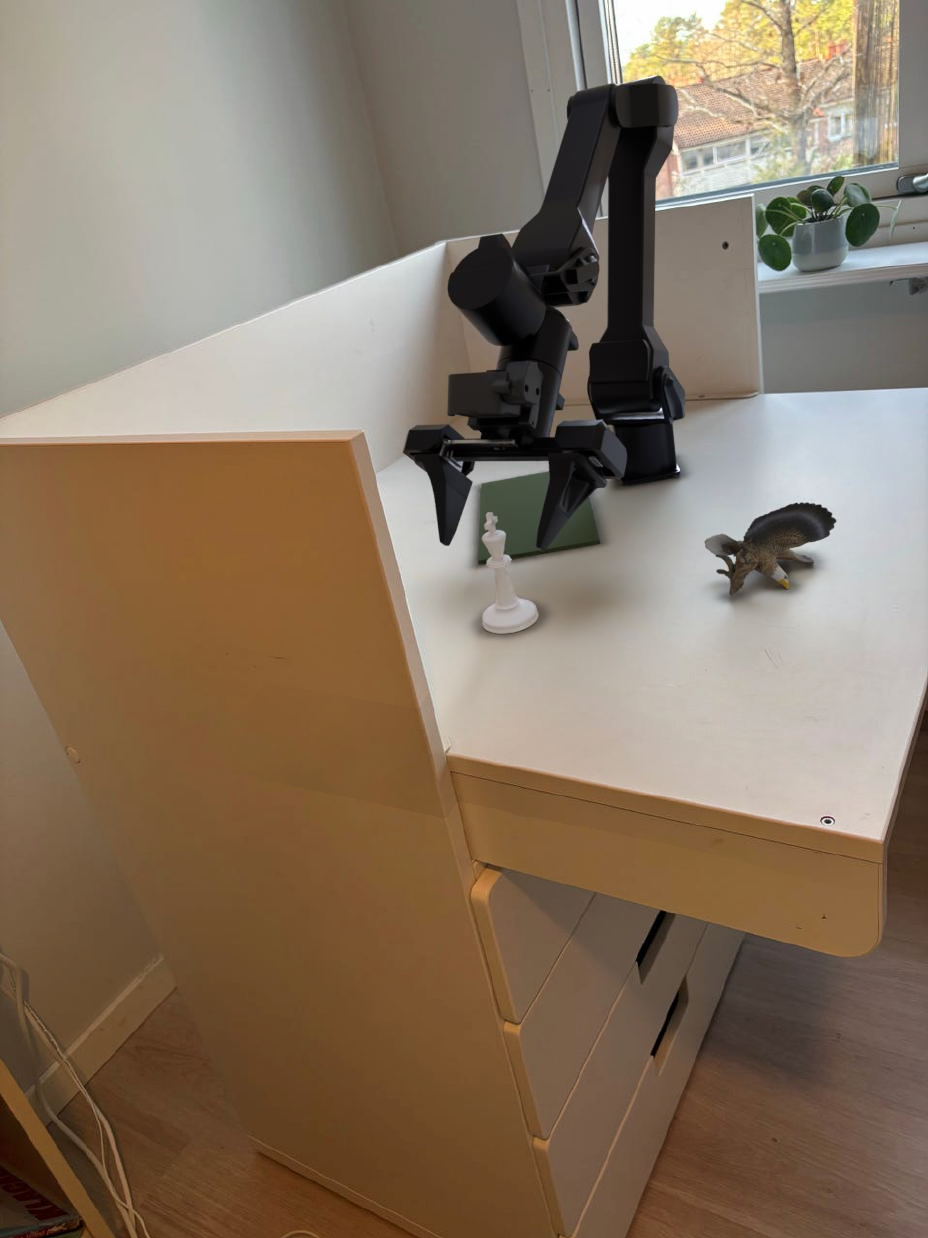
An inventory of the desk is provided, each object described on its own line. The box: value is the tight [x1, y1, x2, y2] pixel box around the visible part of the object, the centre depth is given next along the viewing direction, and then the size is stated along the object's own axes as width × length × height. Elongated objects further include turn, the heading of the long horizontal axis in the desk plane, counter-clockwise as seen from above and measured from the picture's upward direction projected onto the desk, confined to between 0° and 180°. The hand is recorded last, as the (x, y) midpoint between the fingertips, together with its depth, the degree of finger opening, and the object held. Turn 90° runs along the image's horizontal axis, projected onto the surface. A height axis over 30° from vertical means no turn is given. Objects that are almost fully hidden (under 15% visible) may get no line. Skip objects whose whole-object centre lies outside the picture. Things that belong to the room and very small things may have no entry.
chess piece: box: [481, 512, 539, 635], centre depth 78 cm, size 5×5×10 cm
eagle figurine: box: [703, 502, 838, 597], centre depth 76 cm, size 8×7×9 cm
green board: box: [477, 470, 601, 565], centre depth 100 cm, size 12×22×1 cm, turn 178°
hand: (490, 546), depth 76 cm, fingers open, 9 cm apart
